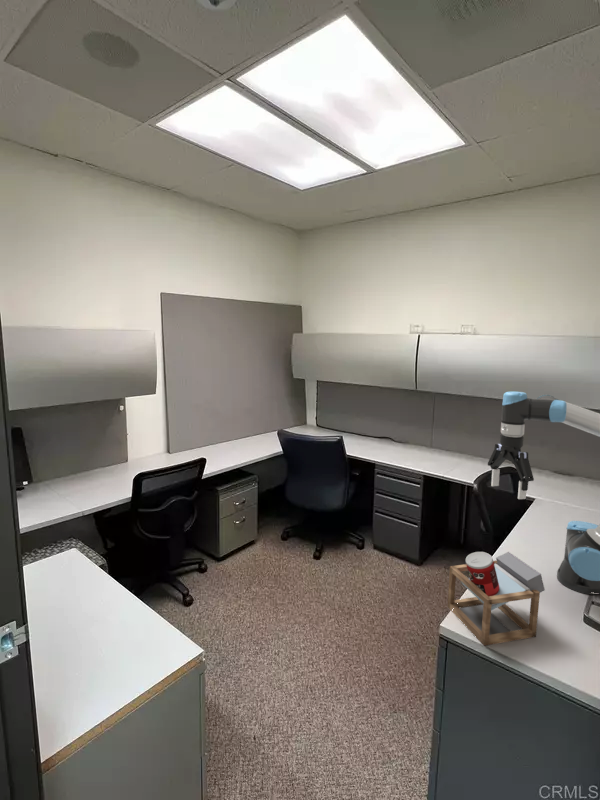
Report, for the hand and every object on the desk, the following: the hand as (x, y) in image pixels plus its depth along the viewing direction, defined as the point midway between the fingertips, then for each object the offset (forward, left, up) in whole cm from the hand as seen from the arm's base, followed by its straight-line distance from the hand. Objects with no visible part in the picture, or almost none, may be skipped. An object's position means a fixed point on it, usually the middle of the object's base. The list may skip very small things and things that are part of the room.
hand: (507, 492), depth 152 cm
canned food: (+22, +20, -23) cm, 37 cm away
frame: (+20, +19, -35) cm, 44 cm away
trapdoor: (+15, +19, -25) cm, 35 cm away
